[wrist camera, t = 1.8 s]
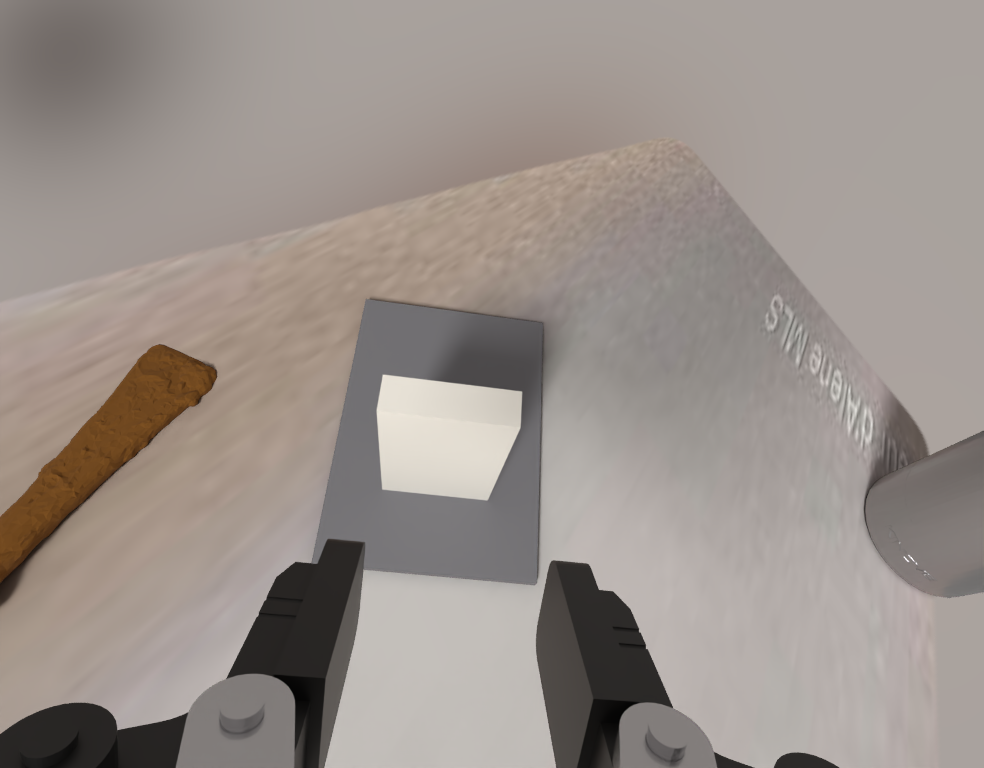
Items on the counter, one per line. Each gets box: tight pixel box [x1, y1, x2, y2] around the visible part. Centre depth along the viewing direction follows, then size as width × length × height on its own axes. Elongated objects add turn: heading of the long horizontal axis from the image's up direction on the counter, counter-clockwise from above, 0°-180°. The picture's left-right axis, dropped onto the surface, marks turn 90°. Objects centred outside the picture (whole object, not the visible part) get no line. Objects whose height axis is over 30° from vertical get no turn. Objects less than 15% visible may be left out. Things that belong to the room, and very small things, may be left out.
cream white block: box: [377, 375, 522, 501], centre depth 34 cm, size 2×7×12 cm, turn 87°
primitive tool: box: [0, 344, 217, 583], centre depth 36 cm, size 19×6×4 cm, turn 158°
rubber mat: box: [312, 299, 543, 585], centre depth 41 cm, size 20×14×1 cm
